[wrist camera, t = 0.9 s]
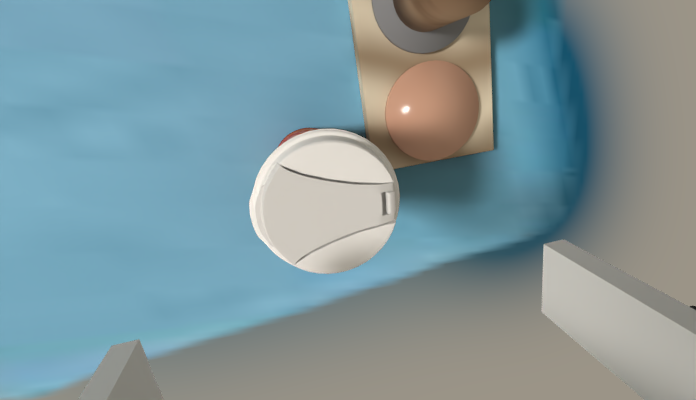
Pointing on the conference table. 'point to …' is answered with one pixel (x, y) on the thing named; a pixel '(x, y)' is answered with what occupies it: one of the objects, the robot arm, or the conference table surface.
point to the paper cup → (325, 200)
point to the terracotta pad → (432, 110)
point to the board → (391, 62)
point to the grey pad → (409, 37)
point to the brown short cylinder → (435, 12)
